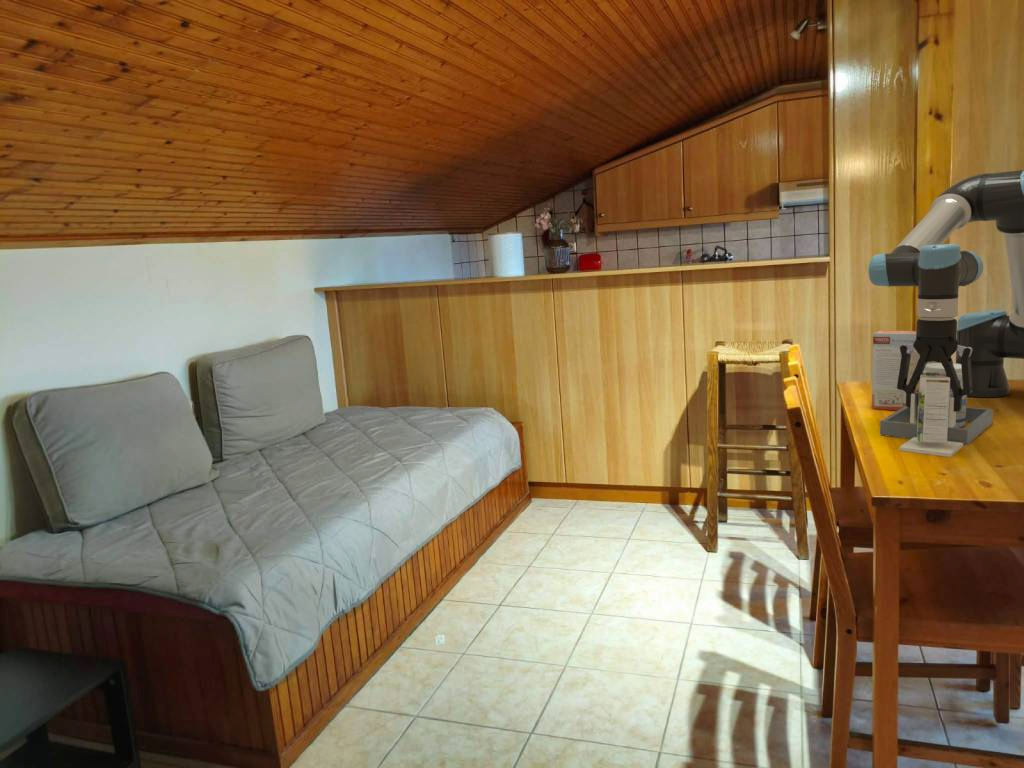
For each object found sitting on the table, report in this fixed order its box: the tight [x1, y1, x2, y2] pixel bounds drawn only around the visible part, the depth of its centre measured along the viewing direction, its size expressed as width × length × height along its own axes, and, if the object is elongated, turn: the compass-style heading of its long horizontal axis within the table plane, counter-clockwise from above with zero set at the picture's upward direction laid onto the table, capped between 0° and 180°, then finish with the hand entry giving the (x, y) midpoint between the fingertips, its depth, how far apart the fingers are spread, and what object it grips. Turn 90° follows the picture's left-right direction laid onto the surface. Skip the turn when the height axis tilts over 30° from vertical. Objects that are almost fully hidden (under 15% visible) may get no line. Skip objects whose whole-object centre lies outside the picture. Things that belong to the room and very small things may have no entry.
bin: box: [879, 406, 994, 446], centre depth 182 cm, size 24×18×4 cm
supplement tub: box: [923, 362, 968, 428], centre depth 185 cm, size 10×10×15 cm
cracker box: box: [871, 330, 936, 412], centre depth 202 cm, size 14×6×21 cm, turn 48°
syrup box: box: [916, 372, 950, 443], centre depth 166 cm, size 6×6×14 cm
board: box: [899, 437, 964, 458], centre depth 167 cm, size 10×10×1 cm
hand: (932, 423), depth 166 cm, fingers closed on syrup box, 7 cm apart
